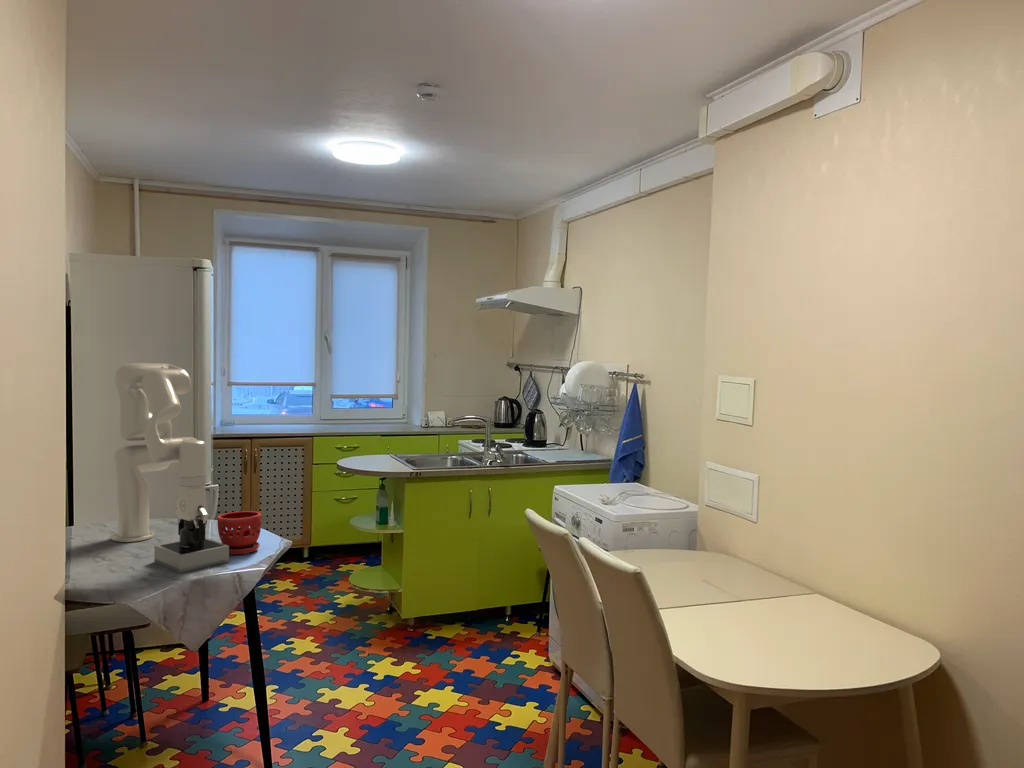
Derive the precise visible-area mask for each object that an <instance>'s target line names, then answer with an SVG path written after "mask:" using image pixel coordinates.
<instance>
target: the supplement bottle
mask: <svg viewBox="0 0 1024 768" xmlns="http://www.w3.org/2000/svg"><path fill="white" fill-rule="evenodd" d="M196 518H197V517H196ZM198 523H199V521H198ZM184 526H185V527H184V528H182V529H181V531H180V535H179V540H178V541H179V554H186V553H191V552H196V551H201V550H204V540H201V541H194V528H196V527H195V524H194V521H193V520H192V521H187V520H184Z"/></svg>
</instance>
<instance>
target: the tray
mask: <svg viewBox="0 0 1024 768" xmlns="http://www.w3.org/2000/svg"><path fill="white" fill-rule="evenodd" d="M153 549H154V555H153V556H154V561H153V562H154V563H155V564H158V565H161V566H163V567H165V568H167V569H169V570H172V571H174V572H175V573H179V574H181V573H186V572H190V571H195V570H200V569H205V568H209V567H212V566H213V565H214V566H218V565H221V563H223V564H226V563H225V562H227V563H230V554H229V546H228V545H225V544H223V543H222V542H221V541H220V542H219V541H217V540H214V539H211V538H208V537H206V536H205V540H204V550H201V551H196V552H191V553H186V554H179V540H177V541H173V542H171V541H170V542H165V543H160V544H155V545H154V548H153ZM217 564H218V565H217ZM208 566H209V567H208Z"/></svg>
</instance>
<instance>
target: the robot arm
mask: <svg viewBox="0 0 1024 768" xmlns="http://www.w3.org/2000/svg"><path fill="white" fill-rule="evenodd" d="M114 383H115V388H116V391H117V395H118V397H119V433H120V437H121V438H122V440H123V441H126V442H127V441H128V442H137V441H144V442H145V443H142V444H141V443H139V444H130V445H125V446H121V447H119V448H117V450H116V451H115V452H114V455H113V462H114V469H115V473H116V485H117V487H116V495H117V497H116V498H117V499H116V501H117V502H116V503H117V504H116V508H117V509H116V510H117V511H116V512H117V515H116V519H117V521H116V523H117V524H116V533H115V534H114V533H113V534H112V535H111V540H112V541H114V542H118V543H131V542H132V543H133V542H140V541H146V540H149V539H152V538H153V537H154V536H155V533H154V531H152V530H150V486H149V485H150V484H149V482H148V481H147V479H146V478H145V477H144V476H143V475H142V474H143V473H148V472H156V471H157V472H158V471H163V470H166V469H168V468H169V467H170V465H171V464H173V463H178V487H177V491H176V492H177V493H176V494H177V495H176V502H175V503H176V505H175V516H176V517H177V522H178V525H177V526H178V528H177V529H178V531H177V532H178V533H177V534H178V536H180V531H181V529H182V528H184V527H185V526H184V520H187V521H192V520H193V521H194V524H195V527H196V528H194V541H201V540H205V537H206V527H207V523H208V518H209V514H208V513H207V499H206V496H207V495H206V488H205V487H206V485H207V475H206V474H207V444H206V442H205V441H203V440H202V439H201V440H199V439H197V438H195V437H192V436H183V437H182V436H181V437H173V426H172V421H171V420H173V419H175V418H176V417H177V416H179V415H180V413H181V412H182V405H181V403H180V400H179V396H178V395H186V394H188V393H189V392H190V391H191V389H192V379H191V376H190V374H189V373H188V372H187V371H186V369H183V368H181V367H180V366H177V365H174V364H171V363H164V362H163V363H158V362H155V363H153V362H151V363H150V362H132V363H131V362H130V363H124V364H121V365H119V367H117V369H116V371H115V375H114ZM149 408H150V410H151V411H149ZM196 517H197V518H196ZM198 521H199V523H198Z"/></svg>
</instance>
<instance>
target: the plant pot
mask: <svg viewBox="0 0 1024 768" xmlns="http://www.w3.org/2000/svg"><path fill="white" fill-rule="evenodd" d="M261 527H262V514H261V512H259V511H254V510H253V511H252V510H247V511H246V510H243V511H242V510H241V511H232V512H226V513H222V514H219V515H218V516H217V531H218V535H219V536H218V537H219V539H220V543H223V544H225V545H228V546H229V555H245V554H251V553H250V552H252V553H253V552H255V551H256V550H258V549H259V548H260V543H259V542H258V539H259V537H260V535H261V532H262V531H261Z"/></svg>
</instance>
